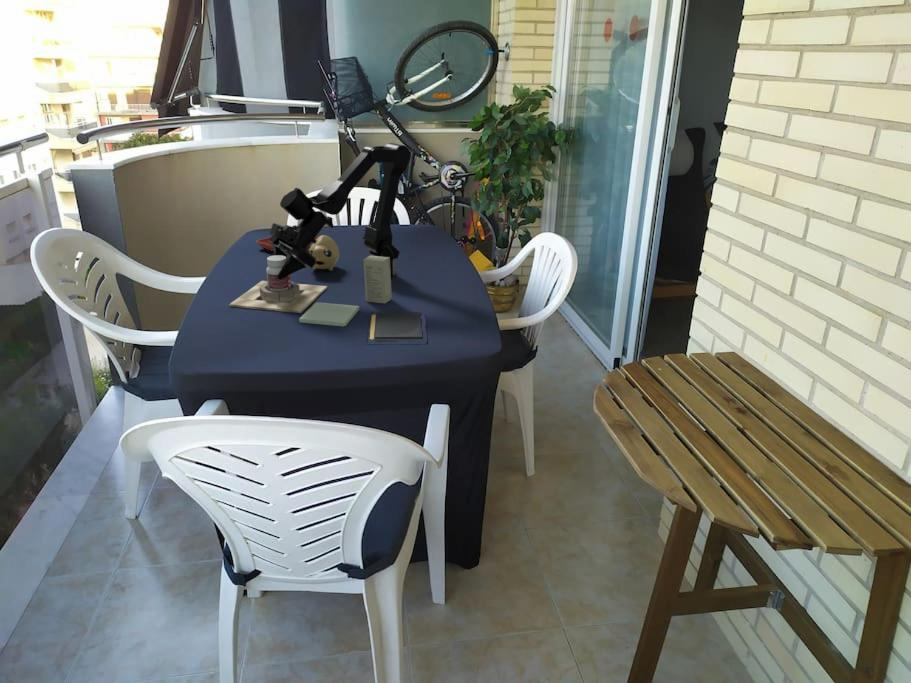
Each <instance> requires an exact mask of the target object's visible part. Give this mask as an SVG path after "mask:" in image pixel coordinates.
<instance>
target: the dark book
mask: <svg viewBox="0 0 911 683" xmlns="http://www.w3.org/2000/svg"><path fill="white" fill-rule="evenodd" d="M422 314H423V313H422V312H421V311H420V312H419V311H411V312H406V311H404V312H402V311H401V312H399V311H398V312H395V311H394V312H393V311H392V312H391V311H390V312H385V311H384V312H383V311H382V312H381V311H380V312H379V311H377V312H376V313H369V319H368V327H369V329H368V328H367V329H368V330H367V334H368V333H369V332H370V337H369V340H374V342H378V343H381V342H397V341H413V340H423V331H422V319H421V315H422Z"/></svg>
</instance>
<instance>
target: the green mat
mask: <svg viewBox="0 0 911 683" xmlns="http://www.w3.org/2000/svg"><path fill="white" fill-rule="evenodd" d="M358 311H360V306H359V305H352V304H351V305H350V304H339V303H329V302H328V303H327V302H320V301H319V302H315V303H314V304H312V306H311V307H310V308H308V309H307V310H306V311H305V312H304V313H303V314H302V315H301V317H299V320H298V322H299V323H303V324H312V325H313V324H314V325H325V326H335V327H344V326H345V327H346V326H347V325H348V324H349V323H350V321H351V320H352V319H353V318H354V316H356V314H357V313H358Z"/></svg>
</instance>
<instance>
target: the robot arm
mask: <svg viewBox="0 0 911 683" xmlns="http://www.w3.org/2000/svg"><path fill="white" fill-rule="evenodd" d="M411 158H412V152H411V150H410V149H409V147H408V146H406V145H403V144H399V143H396V142H395V143H394V142H389V143H387V144H385V145H384V146H383V145H378V146H377V145H376V146H375V145H374V146H370V145H369V146H368V145H367V146H364V147H363V148H362V150H361V152H360V153H359V154H358V156H357V157H356V158H355V159H354V160H353V161H352V162H351V163H350V165H349V166H348V167H347V168H346V169H345V171H344V172H343V173H342V174H341V175H340V176H339V177H338V179H337V180H336V181H334V182H333V183H331V184H329V185H327V186H326V187H323V189H321V191H319V192H318V193H317V194H316V195H313V196H310V197H308V196H307V195H306V194H305V193H304V192H303V191H302V190H301V189H300V188H299V187H295V188H294V189H293V190H290V191H289V192H288V193H286V194H284V196H282V199H281V201H280V204H279V206H280V207H281V208H282V209H283V210H284V211H285V212H286V213H287V214H289V215H290V216H291V217H293V219H295V220H296V221H300V220H301V221H300V223H299V224H298V225H292V226H291V225H288V224H285V225H281V224H278V223H276V222H272V225H271V228H270V231H269V234H270V235H271V236H270V237H271V238H270V239H269V241H270V242H272V243H273V244H272V246H273V251H274V252H273V253H272V256H274V255H282V256H285V257H286V259H287V261H286V262H285V264H284V266H283V267H282V269H281V271H280V272H279V274H278V276H277V278H278V279H282V278H284V277H286V276H288V275H290V276H291V275H292V274H294V273H296V272H299V271H301V270H303V269H306V268H307V267H308V268H310V269H313V267H314V265H315V264H316V258H315V257H313V256H312V255H311V254H310V253H309V252H307V251H306V250H307V249H308V247H309V246H310V245H311V243H314V244H315V243H316V242H317V241H316V240H315V238H316V237H319V236H318V235H319V234H320V233H321V232H322V230H323V229H324V227H325V226H326V227H329V228H331V229H333V228H334V223H333V220H334V219H333V217H331V216H333V215H334V216H335V215H339V214H340V213H341V212H342V210H343V208H344V207H345V206H346V204H347V203H348V200H349V195H350V194H351V192H352V191H353V189H355V187H356V186H357V185H358V183H360V181H361V180H362V179H363V178H364V177H365V176H366V174H367V173H368V172H369V171H370V169H372V167H373V166H374V165H375V164H376V163H378V162H379V163H381V166H382V171H383V177H382V181H381V187H380V192H379V197H378V202H377V206H376V211H375V216H374V220H373V222H372V224H371V225H370V226H368V225H365V229H364V235H363V237H362V239H363V243H364V244H363V245H364V246H365V247H366V249H367V250H368V251H369V254H370V255H371V256H381V257H390V272H391V280H393V279H394V278H395V276H396V275H397V273H398V272H397V271H396V260H397V259H399V255H400V251H399V250H398V249H397V248H396V246H394V245H393V231H392V227H391V225H392V224H391V223H392V218H393V213H394V209H395V203H396V200H397V195H398V191H399V190H398V189H399V187H400V186H399V185H400V181H401V177H402V176H403V175H404V174H405V173H406V171H407V169H408V167H409V164H410V161H411ZM314 208H315V209H316V210H315V209H314ZM318 210H319V211H318ZM323 212H324V213H326V214H329V215H331V216H326V215H325V214H324V213H323ZM291 253H292V254H293V255H291Z"/></svg>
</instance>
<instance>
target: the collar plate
mask: <svg viewBox="0 0 911 683" xmlns="http://www.w3.org/2000/svg"><path fill="white" fill-rule="evenodd" d="M327 289H328V286H327V285H316V284H306V283H305V284H304V283H296V282H295V281H292V280H291V290H286V291H281V292H276V291H268V282H267V280H260V281H259V282H258V283H257V284H255V285H253V287H251V288H250V289H249V290H247V291H246V292H244V293H243V294H241V295H240V296H239V297H238V298H236V299H235V300H233V301H232V302H231V303H229V305H228V306H229V308H231V307H232V308H240V309H241V308H243V309H253V310H261V311H262V310H264V311H273V310H274V311H275V312H285V313H294V314H295V313H298V314H302V313H303V312H304V311H305V310H306V309H307V308H308V307H309V306H310V305H311V304H312V303H313V302H315V300H316V299H318V298H319V297H320V295H321V294H323V293H324V292H325V291H326V290H327ZM260 299H261V300H260Z"/></svg>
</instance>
